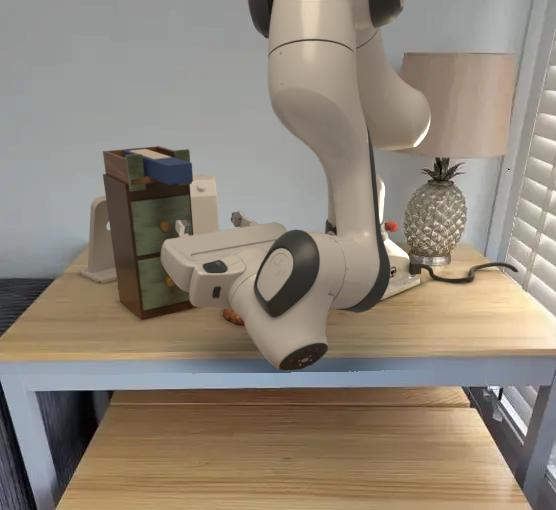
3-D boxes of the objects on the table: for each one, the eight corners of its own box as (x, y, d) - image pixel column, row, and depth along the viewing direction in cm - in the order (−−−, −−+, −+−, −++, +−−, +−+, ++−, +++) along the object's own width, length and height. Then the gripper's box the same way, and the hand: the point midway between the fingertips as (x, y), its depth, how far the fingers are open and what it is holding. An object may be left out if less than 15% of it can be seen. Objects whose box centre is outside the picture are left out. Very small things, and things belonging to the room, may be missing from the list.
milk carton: (189, 250, 155) (183, 173, 146) (217, 249, 156) (213, 171, 147) (191, 259, 148) (185, 178, 139) (220, 257, 150) (216, 177, 141)
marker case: (147, 165, 115) (145, 147, 113) (193, 181, 100) (191, 161, 99) (124, 167, 113) (122, 149, 111) (168, 184, 98) (166, 164, 97)
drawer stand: (174, 289, 130) (160, 141, 116) (202, 309, 120) (191, 149, 106) (120, 301, 124) (98, 146, 110) (145, 323, 114) (125, 156, 100)
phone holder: (142, 256, 151) (133, 181, 142) (167, 265, 144) (159, 187, 136) (78, 273, 140) (65, 193, 131) (102, 284, 133) (89, 200, 125)
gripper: (315, 250, 90) (270, 194, 96) (187, 275, 80) (147, 210, 87) (303, 282, 95) (262, 226, 101) (182, 308, 85) (144, 245, 92)
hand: (208, 219), depth 94 cm, fingers open, 8 cm apart
